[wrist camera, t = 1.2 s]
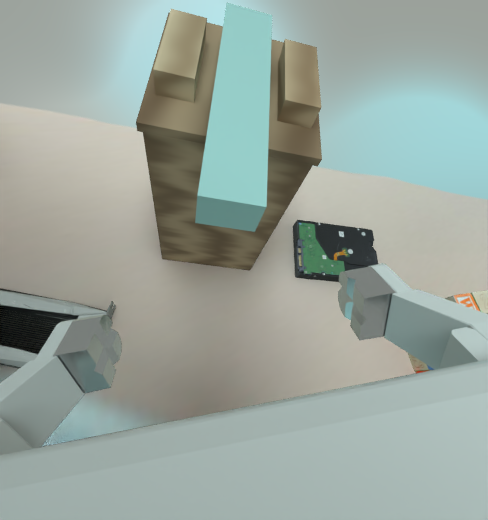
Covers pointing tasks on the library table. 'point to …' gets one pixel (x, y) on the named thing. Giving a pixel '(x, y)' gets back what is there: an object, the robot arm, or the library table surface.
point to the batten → (238, 125)
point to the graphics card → (38, 310)
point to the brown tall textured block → (195, 131)
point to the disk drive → (330, 250)
